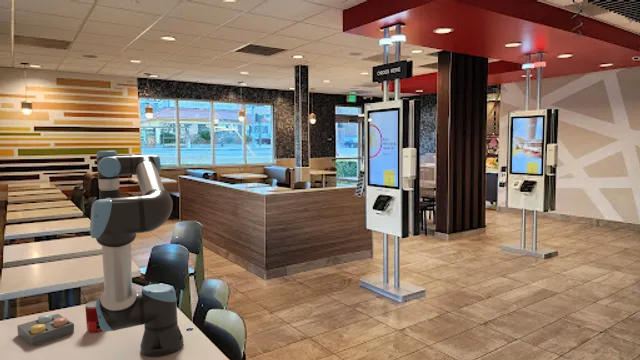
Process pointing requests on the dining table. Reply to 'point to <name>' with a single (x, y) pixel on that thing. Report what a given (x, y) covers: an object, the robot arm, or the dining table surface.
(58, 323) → the salmon pink rounded dome
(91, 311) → the canned food
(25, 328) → the button panel
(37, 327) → the button mustard
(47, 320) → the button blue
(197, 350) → the dining table surface
